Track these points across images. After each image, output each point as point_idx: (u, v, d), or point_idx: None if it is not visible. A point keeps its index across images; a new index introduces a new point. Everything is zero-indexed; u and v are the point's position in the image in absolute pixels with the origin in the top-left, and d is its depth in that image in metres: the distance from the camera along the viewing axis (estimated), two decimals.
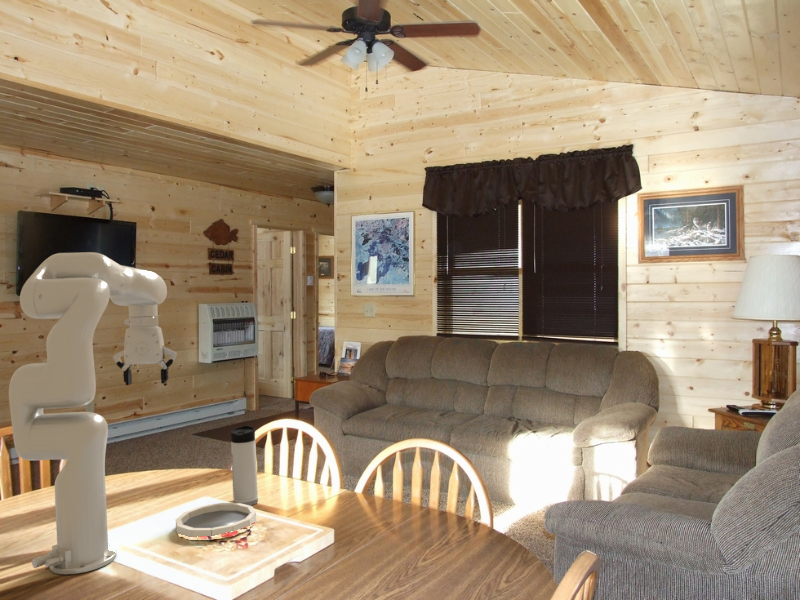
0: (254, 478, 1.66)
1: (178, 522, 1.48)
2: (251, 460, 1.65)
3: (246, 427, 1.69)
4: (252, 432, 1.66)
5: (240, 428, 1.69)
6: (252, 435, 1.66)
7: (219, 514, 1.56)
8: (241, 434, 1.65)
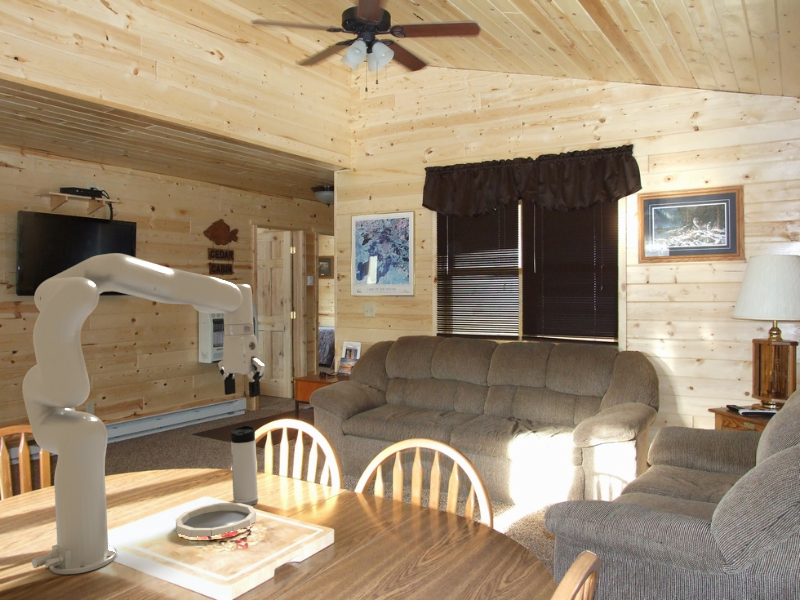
0: (254, 478, 1.66)
1: (178, 522, 1.48)
2: (251, 460, 1.65)
3: (246, 427, 1.69)
4: (252, 432, 1.66)
5: (240, 428, 1.69)
6: (252, 435, 1.66)
7: (219, 514, 1.56)
8: (241, 434, 1.65)
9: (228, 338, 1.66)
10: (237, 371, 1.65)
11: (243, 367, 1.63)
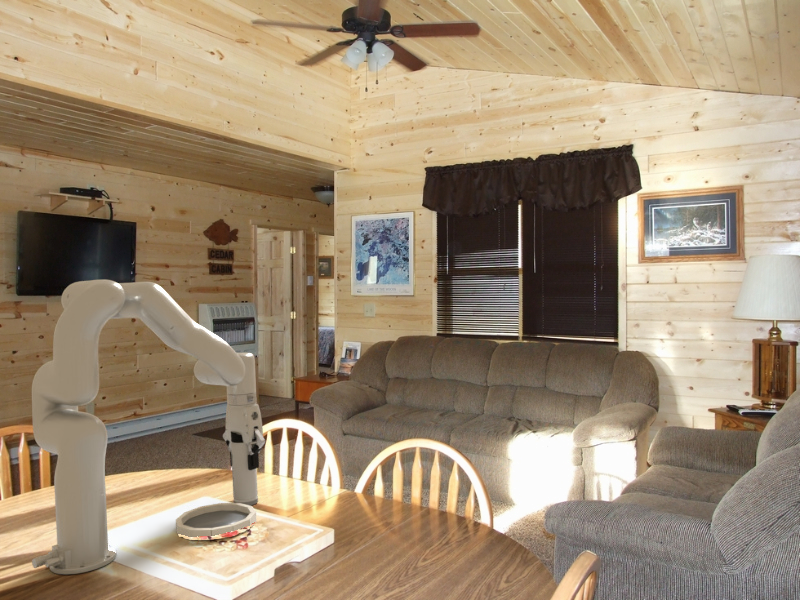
0: (254, 478, 1.66)
1: (178, 522, 1.48)
2: None
3: None
4: None
5: None
6: None
7: (219, 514, 1.56)
8: None
9: (231, 407, 1.66)
10: None
11: (246, 437, 1.63)
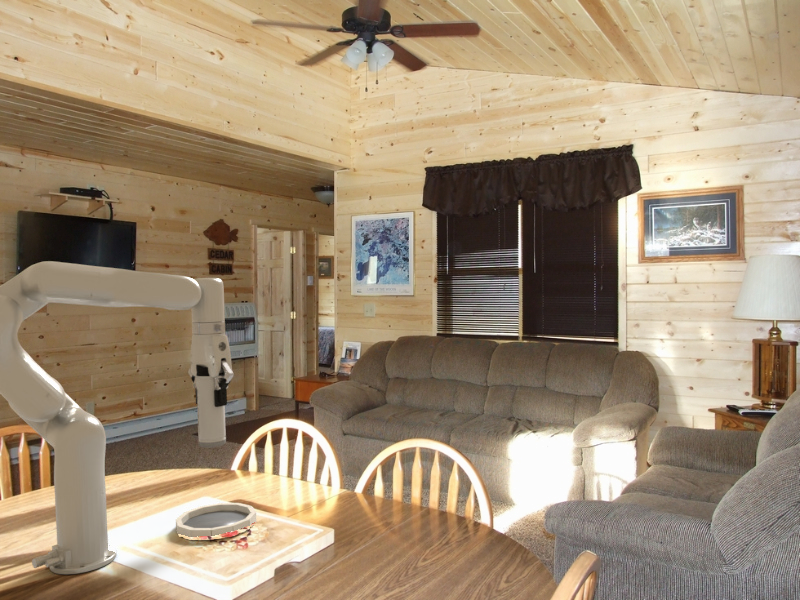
0: (222, 416, 1.49)
1: (178, 522, 1.48)
2: None
3: None
4: None
5: None
6: None
7: (219, 514, 1.56)
8: (207, 367, 1.48)
9: (196, 338, 1.49)
10: None
11: (212, 370, 1.47)
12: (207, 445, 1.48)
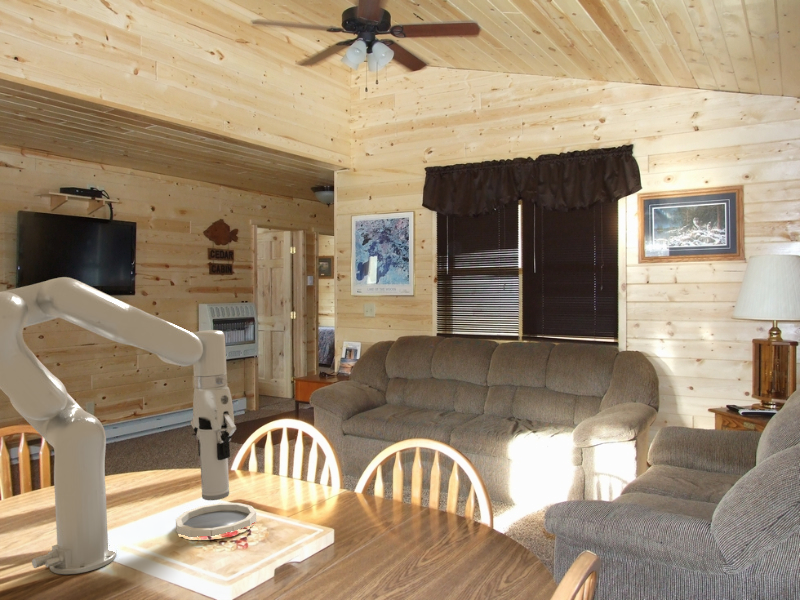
0: (225, 469, 1.50)
1: (178, 522, 1.48)
2: None
3: None
4: None
5: None
6: None
7: (219, 514, 1.56)
8: None
9: (198, 391, 1.50)
10: None
11: (214, 424, 1.47)
12: (210, 498, 1.48)
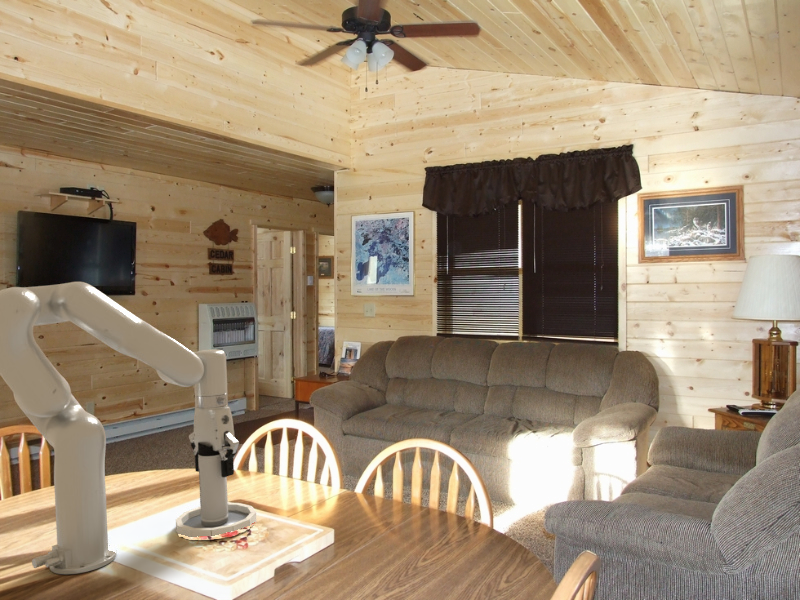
0: (224, 495, 1.50)
1: (178, 522, 1.48)
2: (220, 475, 1.49)
3: None
4: None
5: None
6: None
7: None
8: None
9: (199, 410, 1.50)
10: None
11: (215, 444, 1.47)
12: (209, 525, 1.48)
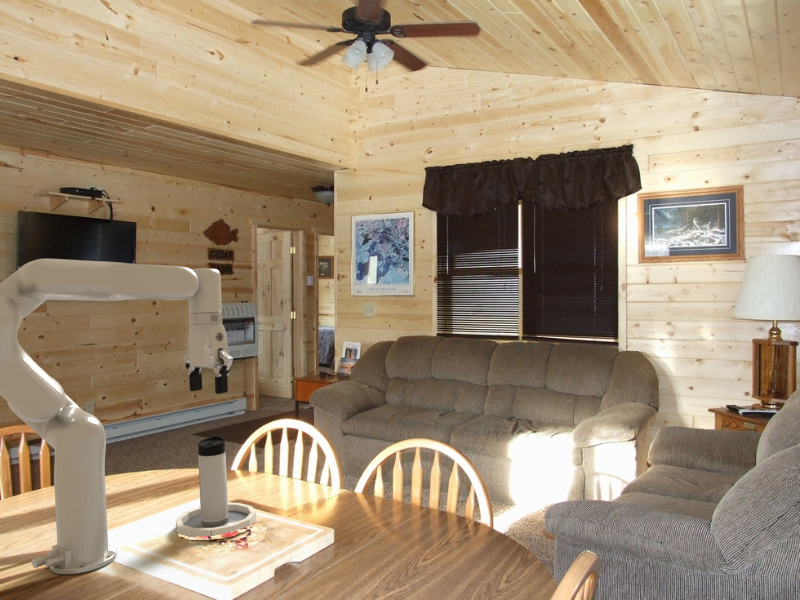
0: (224, 495, 1.50)
1: (178, 522, 1.48)
2: (220, 475, 1.49)
3: (216, 438, 1.53)
4: (221, 444, 1.49)
5: (209, 439, 1.53)
6: (221, 447, 1.49)
7: None
8: (209, 446, 1.48)
9: (193, 328, 1.50)
10: (202, 365, 1.48)
11: (209, 360, 1.47)
12: (209, 525, 1.48)
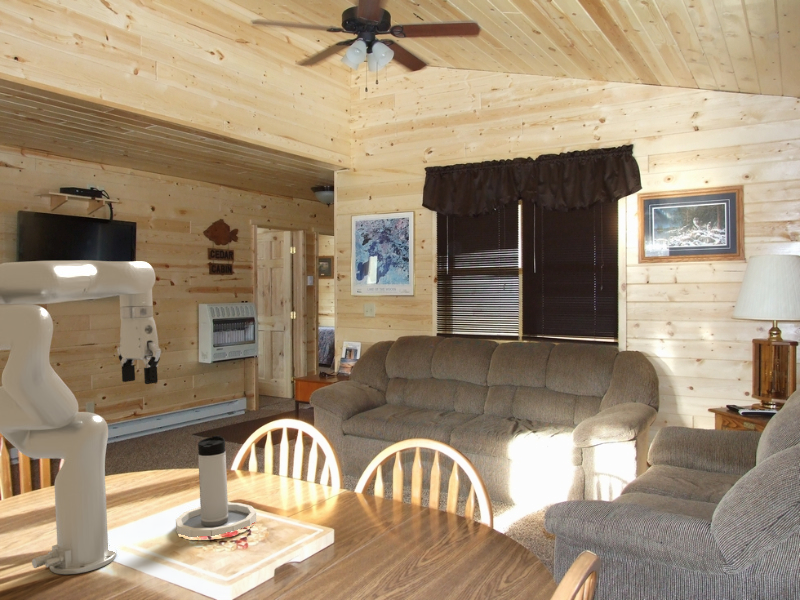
0: (224, 495, 1.50)
1: (178, 522, 1.48)
2: (220, 475, 1.49)
3: (216, 438, 1.53)
4: (221, 443, 1.50)
5: (209, 439, 1.53)
6: (221, 447, 1.50)
7: None
8: (209, 446, 1.49)
9: (124, 321, 1.56)
10: (133, 356, 1.55)
11: (138, 352, 1.54)
12: (209, 524, 1.48)
